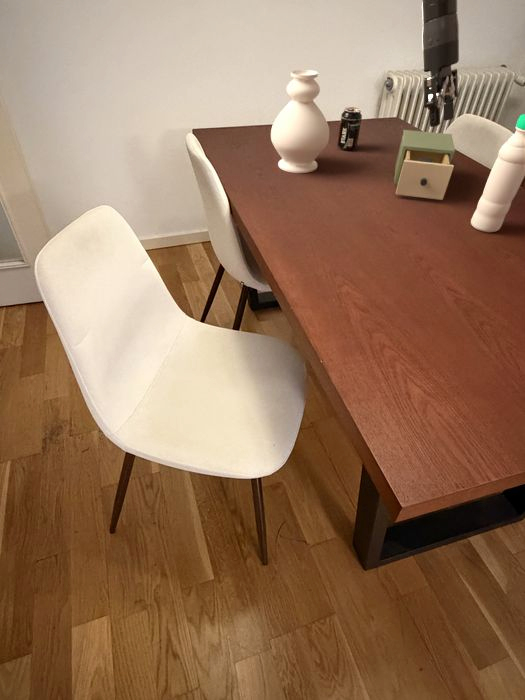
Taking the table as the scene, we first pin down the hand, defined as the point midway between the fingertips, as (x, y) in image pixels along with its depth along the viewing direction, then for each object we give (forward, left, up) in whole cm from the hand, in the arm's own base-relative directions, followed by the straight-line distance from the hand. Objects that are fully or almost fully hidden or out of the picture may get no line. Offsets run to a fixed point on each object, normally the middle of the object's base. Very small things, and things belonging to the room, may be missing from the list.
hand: (442, 122), depth 99 cm
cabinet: (-4, -15, -19) cm, 25 cm away
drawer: (-1, -5, -18) cm, 19 cm away
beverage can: (+13, -41, -19) cm, 47 cm away
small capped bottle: (-1, -4, -17) cm, 18 cm away
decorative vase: (+32, -25, -19) cm, 45 cm away
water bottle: (-11, +16, -19) cm, 28 cm away
